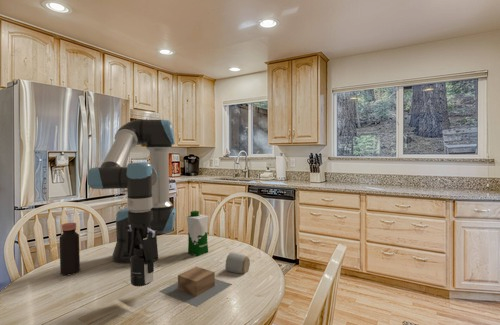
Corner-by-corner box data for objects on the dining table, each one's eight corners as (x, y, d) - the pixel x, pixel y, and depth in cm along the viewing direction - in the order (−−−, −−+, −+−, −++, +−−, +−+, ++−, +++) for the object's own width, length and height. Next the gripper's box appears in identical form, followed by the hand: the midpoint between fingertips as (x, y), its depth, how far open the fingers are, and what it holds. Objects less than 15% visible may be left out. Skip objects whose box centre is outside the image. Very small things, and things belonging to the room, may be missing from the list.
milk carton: (198, 248, 145) (198, 209, 144) (211, 251, 139) (210, 211, 139) (185, 253, 138) (184, 212, 137) (198, 257, 132) (197, 214, 132)
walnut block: (177, 289, 98) (177, 275, 98) (196, 279, 106) (196, 266, 106) (196, 296, 93) (196, 281, 93) (214, 285, 101) (214, 272, 101)
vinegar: (56, 273, 115) (55, 224, 114) (73, 267, 121) (72, 221, 120) (66, 277, 112) (65, 226, 111) (83, 270, 118) (82, 223, 117)
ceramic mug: (244, 278, 110) (244, 258, 110) (224, 274, 113) (224, 255, 112) (253, 268, 120) (253, 250, 119) (235, 265, 122) (235, 247, 122)
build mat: (159, 294, 97) (158, 291, 97) (196, 275, 112) (196, 272, 112) (196, 309, 87) (196, 306, 87) (232, 286, 102) (232, 284, 102)
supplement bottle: (131, 289, 89) (130, 251, 88) (129, 280, 95) (128, 244, 94) (154, 284, 92) (153, 247, 91) (151, 275, 98) (150, 241, 97)
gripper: (112, 208, 94) (114, 275, 96) (149, 216, 83) (151, 292, 85) (132, 204, 101) (134, 268, 102) (169, 211, 90) (171, 282, 91)
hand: (141, 278), depth 93 cm, fingers closed on supplement bottle, 7 cm apart
